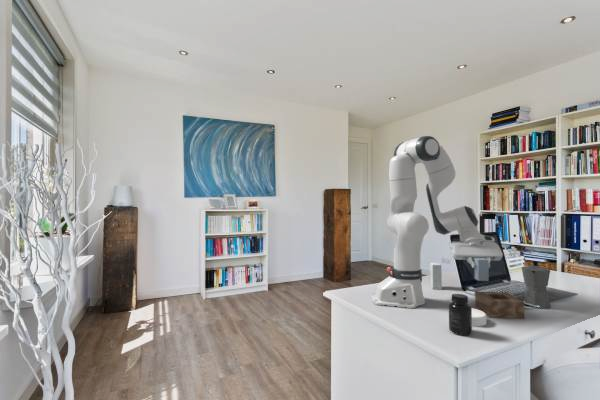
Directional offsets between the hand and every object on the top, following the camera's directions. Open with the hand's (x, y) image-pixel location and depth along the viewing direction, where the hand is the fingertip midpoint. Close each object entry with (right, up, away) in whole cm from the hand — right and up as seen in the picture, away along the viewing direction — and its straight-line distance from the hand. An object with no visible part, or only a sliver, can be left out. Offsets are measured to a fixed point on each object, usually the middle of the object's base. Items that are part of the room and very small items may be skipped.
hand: (481, 267), depth 132 cm
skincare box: (-11, -15, +20) cm, 27 cm away
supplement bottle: (-25, -15, -30) cm, 42 cm away
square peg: (0, -5, 0) cm, 5 cm away
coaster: (-17, -15, -22) cm, 31 cm away
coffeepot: (+19, -14, -6) cm, 25 cm away
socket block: (-2, -14, -14) cm, 20 cm away
